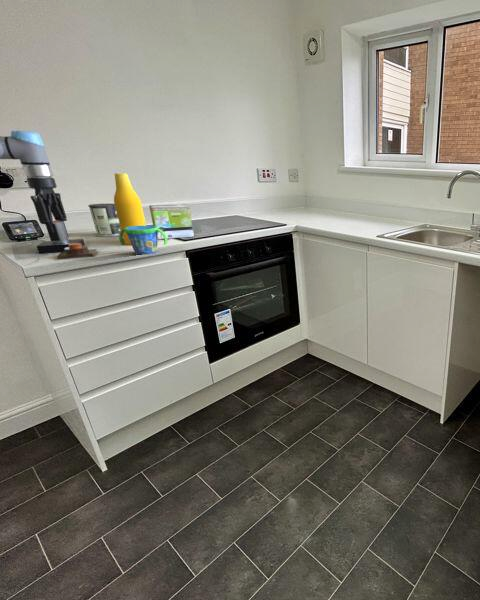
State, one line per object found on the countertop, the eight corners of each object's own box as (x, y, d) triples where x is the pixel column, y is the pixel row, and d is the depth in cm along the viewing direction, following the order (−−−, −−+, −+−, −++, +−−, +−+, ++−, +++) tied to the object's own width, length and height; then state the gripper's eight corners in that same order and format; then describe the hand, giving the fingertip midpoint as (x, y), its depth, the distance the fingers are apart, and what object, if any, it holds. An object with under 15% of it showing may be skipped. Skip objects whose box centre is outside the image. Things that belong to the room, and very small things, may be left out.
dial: (65, 243, 137) (58, 221, 134) (49, 243, 136) (42, 222, 133) (72, 240, 142) (65, 219, 139) (56, 241, 140) (50, 220, 137)
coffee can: (122, 231, 176) (115, 203, 171) (125, 235, 169) (117, 205, 164) (96, 233, 169) (87, 203, 164) (97, 237, 162) (88, 206, 157)
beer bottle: (119, 244, 150) (100, 173, 140) (134, 240, 159) (118, 172, 148) (140, 245, 150) (123, 174, 140) (155, 241, 159) (139, 173, 148)
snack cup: (174, 250, 145) (169, 225, 141) (161, 256, 135) (155, 229, 132) (133, 250, 143) (126, 224, 139) (117, 256, 133) (110, 229, 129)
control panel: (38, 253, 133) (35, 245, 132) (47, 248, 141) (44, 240, 140) (79, 251, 139) (77, 243, 137) (85, 245, 147) (83, 238, 145)
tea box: (158, 240, 161) (150, 207, 156) (155, 236, 168) (148, 204, 163) (194, 237, 170) (189, 205, 165) (190, 233, 177) (185, 203, 172)
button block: (57, 259, 127) (54, 251, 126) (63, 254, 133) (61, 246, 132) (92, 256, 132) (90, 248, 131) (97, 251, 138) (94, 244, 137)
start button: (68, 250, 129) (67, 245, 129) (71, 248, 132) (69, 243, 132) (81, 249, 131) (79, 244, 130) (83, 247, 134) (82, 242, 133)
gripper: (42, 175, 137) (61, 235, 145) (9, 178, 121) (33, 244, 129) (66, 176, 139) (83, 234, 147) (36, 178, 123) (58, 243, 131)
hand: (60, 239), depth 138 cm, fingers closed on dial, 5 cm apart
